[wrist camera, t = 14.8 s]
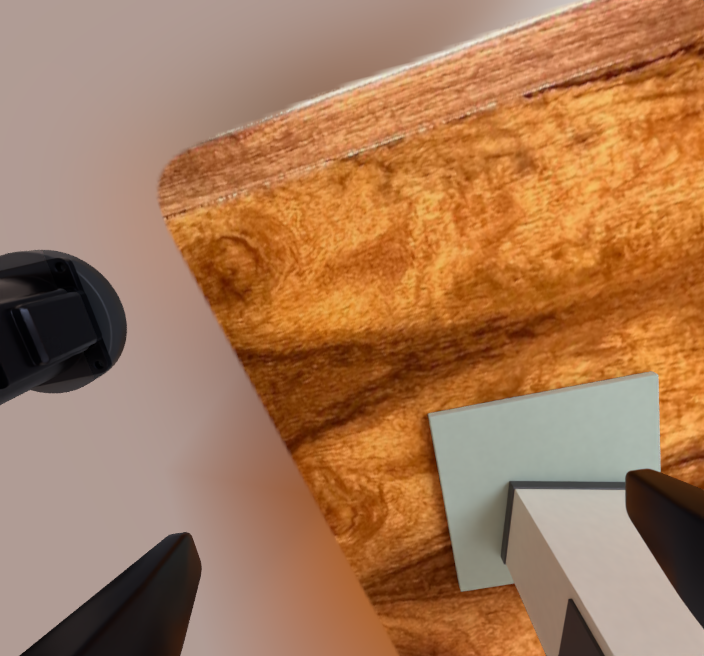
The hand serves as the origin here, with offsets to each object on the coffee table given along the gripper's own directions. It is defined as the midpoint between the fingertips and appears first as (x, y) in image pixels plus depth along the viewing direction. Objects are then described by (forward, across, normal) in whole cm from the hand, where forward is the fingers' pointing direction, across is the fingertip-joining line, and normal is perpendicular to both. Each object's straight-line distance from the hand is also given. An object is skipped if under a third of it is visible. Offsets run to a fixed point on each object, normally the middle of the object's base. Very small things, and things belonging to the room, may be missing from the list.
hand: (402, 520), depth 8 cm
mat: (+13, -8, +10) cm, 19 cm away
